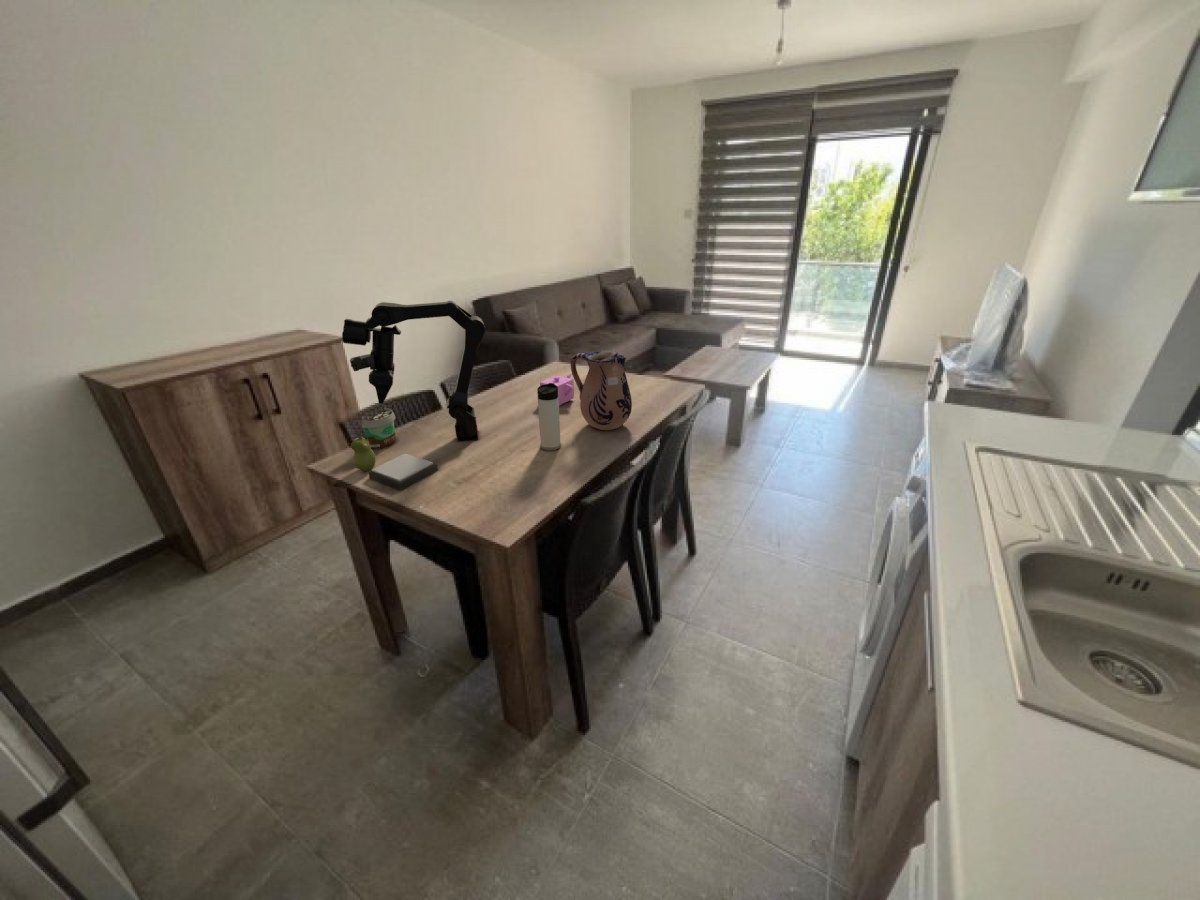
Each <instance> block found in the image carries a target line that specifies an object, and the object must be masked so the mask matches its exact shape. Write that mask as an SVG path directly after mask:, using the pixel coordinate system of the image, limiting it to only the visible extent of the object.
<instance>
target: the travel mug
mask: <svg viewBox="0 0 1200 900" xmlns="http://www.w3.org/2000/svg"><path fill="white" fill-rule="evenodd" d="M536 391H537V408H538V409H537V410H538V411H537V412H538V422H539V423H538V424H539V425H538V426H539V440H540V448H541V449H542V450H545V451H551V452H552V451H557V450H558V449H560V448H561V445H562V444H561V425H560V422H561V421H560V406H559V399H558V387H557V386H556V385H555V384H554V383H548V384H545V385H541V386H540V385H539V386H538V387H537V388H536Z"/></svg>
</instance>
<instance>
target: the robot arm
mask: <svg viewBox="0 0 1200 900" xmlns="http://www.w3.org/2000/svg"><path fill="white" fill-rule="evenodd" d="M443 317H449V318H450V319H452V320H453V322H455V323H456V324H457V325H459V326H460V328H462V329H463V330H464V346H463V350H462V355H461V361H460V365H459V371H458V375H457V378H456V379H457V380H456V385H455V388H454V390H450V389H449V390H448V398H447V400H446V409H448V415H449V416H450V417H451V418H452V419H455V423H454V430H455V437H456V438H457V441H458V442H464V441H465V442H466V441H473V440H474V441H475V440H479V435H480V433H479V431H480V430H479V429H478V422H477V416H476V413H475V408H474V407H473V406H472V405H470V404H469V398H468V395H469V394H468V393H469V387H470V383H471V378H472V373H473V369H474V365H475V360H476V356H477V351H478V349H479V347H480V345H481V343H482V340H483V338H484V336H485V334H486V326H485V323H484V321H483V319H482V318H481V317H479V316H478V315H472V314H470V312H468V311H467V310H466V309H464V308H462V307H461V306H460V305H458V304H457V303H456V302H455V301H453V300H447V301H440V302H427V303H414V304H401V303H397V302H396V303H395V302H387V301H386V302H385V301H382V302H379V303H377V304H376V305H375V306H374V307H373V309H372V310H371V316H370V317H368V318H367V319H366V321H360V320H354V319H351V318H345V319H344V320H343V329H342V333H341V338H342V343H343V344H348V345H355V346H356V345H357V346H365V347H366V345H367V344H368V343H369V344H370V343H372V344H371V348H372V349H371V351H370V352H369V353H368V354H363V355H362V354H361V355H358V356H353V357H351V358H350V359H349V362H350V367H351V368H352V370H353V372H359V371H360V370H364V369H368V368H369V370H370V372H369V374H368V383H369V384H370V385H372V386H373V387H374V389H375V392H376V396H377V400H378V404H380V405H383V404H384V402H385V401H386V399H387V397H388V395H389V393H390V390H391V388H392V387H393V384H394V374H395V366H396V365H395V363H394V355H395V351H394V349H395V336H396V335H397V336H400V335H401V334H402V330H400V329H399V328H398V326H397V324H400V323H402V322H405V321H408V320H410V321H411V320H421V319H431V318H433V319H434V318H443ZM392 325H393V326H392ZM391 326H392V327H391ZM378 327H380V328H378ZM371 338H372V339H371Z"/></svg>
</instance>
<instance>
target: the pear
mask: <svg viewBox="0 0 1200 900" xmlns="http://www.w3.org/2000/svg"><path fill="white" fill-rule="evenodd" d="M350 448H351V450H353V451H354V455H353V463H354V466H355V468H357V469H358V470H359V471H361V472H366V471H368V472H369V471H371V470H372V469H374V468H375V465H376V460H377V459H376V454H375V453H374V451H373V449H371V447H370V444H369V441H368V439H366V438H365V437H363V436H360V437H355V438H354V440H353V441H352V442H351V443H350Z"/></svg>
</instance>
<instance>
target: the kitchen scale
mask: <svg viewBox="0 0 1200 900" xmlns="http://www.w3.org/2000/svg"><path fill="white" fill-rule="evenodd" d="M438 470H439V469H438V464H437V462H433V461H430V460H427V459H424V458H421V457H418V456H415V455H412V454H410V453H403V454H401V455H399V456H397V457H394V458H393V459H390V460H389V461H387V462H384V463H382V464H380V465H378V466H376V467H373V468H372V469H370V470H368V472H367V473H368V476H369V479H371V480H374V481H376V482H379V483H382V484H384V485H387V486H389V487H392V488H394V489H397V490H400V491H402V490H404V489H406V488H407V487H409V486H411V485H414V483H415V484H416V482H419V481H420V480H422V479H424V478H425V477H427V476H430V475H431V474H433V473H434V472H436V471H438Z"/></svg>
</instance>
